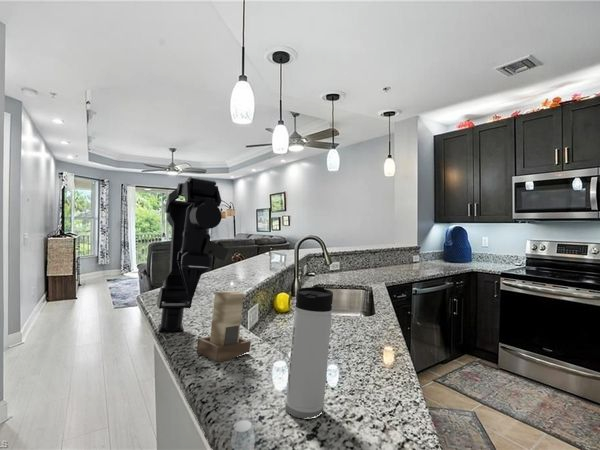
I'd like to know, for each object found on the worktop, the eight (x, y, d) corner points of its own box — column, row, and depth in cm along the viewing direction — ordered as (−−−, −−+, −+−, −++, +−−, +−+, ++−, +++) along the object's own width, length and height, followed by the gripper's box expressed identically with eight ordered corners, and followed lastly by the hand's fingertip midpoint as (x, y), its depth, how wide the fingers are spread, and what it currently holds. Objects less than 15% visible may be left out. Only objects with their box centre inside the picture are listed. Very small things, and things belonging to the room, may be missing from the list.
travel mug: (327, 405, 55) (337, 288, 56) (317, 424, 49) (328, 292, 50) (293, 396, 57) (304, 284, 59) (279, 413, 51) (291, 287, 52)
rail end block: (208, 351, 75) (215, 291, 76) (225, 347, 79) (232, 290, 80) (221, 357, 72) (228, 294, 73) (238, 353, 76) (244, 293, 77)
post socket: (196, 351, 75) (198, 338, 75) (227, 344, 82) (228, 333, 82) (218, 362, 70) (219, 348, 70) (249, 354, 77) (250, 341, 77)
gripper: (237, 232, 73) (230, 301, 72) (222, 232, 90) (216, 288, 89) (186, 226, 69) (177, 300, 68) (180, 228, 86) (173, 287, 85)
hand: (189, 293), depth 77 cm, fingers open, 9 cm apart
